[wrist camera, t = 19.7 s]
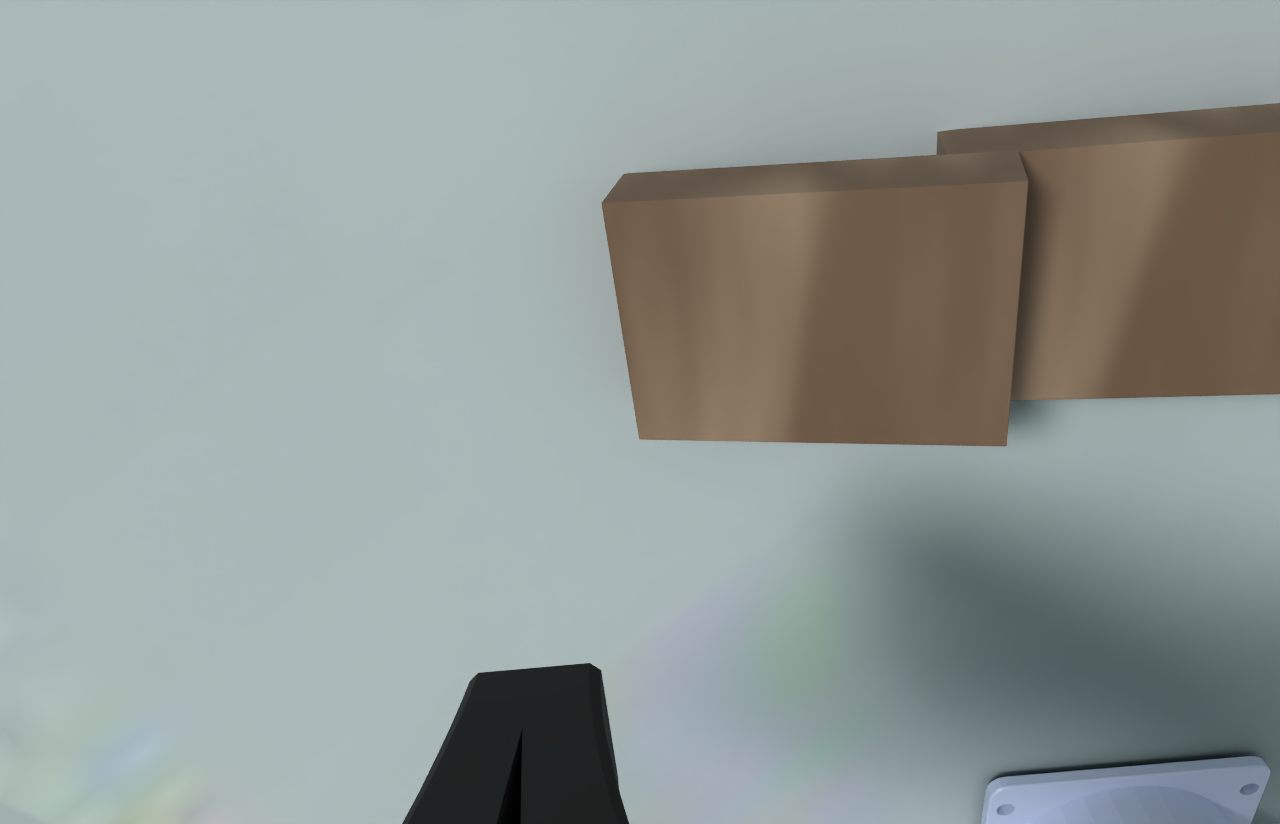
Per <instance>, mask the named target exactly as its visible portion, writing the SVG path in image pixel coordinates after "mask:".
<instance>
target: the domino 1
mask: <svg viewBox="0 0 1280 824" xmlns="http://www.w3.org/2000/svg"><path fill="white" fill-rule="evenodd" d="M1027 192H1028V179H1027V175H1026V172H1025V169H1024V166H1023V163H1022V160H1021V157H1020V154H1019V151H1018V150H1014V151H997V152H981V153H964V154H947V155H930V156H913V157H897V158H880V159H863V160H846V161H830V162H813V163H796V164H779V165H763V166H746V167H729V168H712V169H695V170H679V171H662V172H645V173H628V174H623V176H622V177H621V178H620V180H619V181H618V182H617V183H616V185H615V186H614V187H613V189H612V190H611V191H610V193H609V194H608V195H607V197H606V198H605V199H604V201H603V202H602V209H603V215H604V221H605V228H606V234H607V240H608V246H609V253H610V259H611V265H612V271H613V278H614V284H615V290H616V296H617V303H618V309H619V315H620V321H621V328H622V334H623V340H624V346H625V353H626V359H627V365H628V372H629V378H630V384H631V390H632V397H633V403H634V409H635V415H636V422H637V428H638V434H639V439H648V440H700V441H752V442H805V443H857V444H909V445H962V446H1007V434H1008V422H1009V410H1010V397H1011V385H1012V373H1013V361H1014V349H1015V337H1016V325H1017V313H1018V301H1019V288H1020V276H1021V264H1022V252H1023V240H1024V228H1025V216H1026V204H1027Z"/></svg>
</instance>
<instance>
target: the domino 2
mask: <svg viewBox="0 0 1280 824" xmlns="http://www.w3.org/2000/svg"><path fill="white" fill-rule="evenodd" d="M1014 150H1018V151H1019V154H1020V157H1021V160H1022V163H1023V166H1024V169H1025V172H1026V175H1027V179H1028V192H1027V204H1026V216H1025V228H1024V240H1023V252H1022V264H1021V276H1020V288H1019V301H1018V313H1017V325H1016V337H1015V349H1014V361H1013V373H1012V385H1011V397H1010V401H1014V400H1054V399H1095V398H1136V397H1177V396H1218V395H1258V394H1280V103H1278V104H1266V105H1253V106H1241V107H1229V108H1216V109H1204V110H1192V111H1179V112H1167V113H1155V114H1142V115H1130V116H1118V117H1105V118H1093V119H1081V120H1068V121H1056V122H1044V123H1031V124H1019V125H1007V126H995V127H982V128H970V129H958V130H948V131H941V132H938V135H937V155H947V154H964V153H981V152H997V151H1014Z"/></svg>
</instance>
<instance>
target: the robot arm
mask: <svg viewBox="0 0 1280 824" xmlns="http://www.w3.org/2000/svg"><path fill="white" fill-rule="evenodd" d="M1270 773H1271V771H1270V769H1269V768H1268V766H1267V765H1266V764H1265V762H1264V761H1263V759H1262V758H1259V757H1256V756H1244V757H1232V758H1220V759H1209V760H1197V761H1185V762H1173V763H1161V764H1149V765H1137V766H1126V767H1114V768H1102V769H1090V770H1078V771H1066V772H1054V773H1043V774H1031V775H1019V776H1007V777H1001V778H997V779H995V780H993V781H992V782H991V783H990V784H989V785H988V786H987V789H986V793H985V799H984V806H983V812H982V818H981V824H1251V822H1252V820H1253V817H1254V815H1255V812H1256V810H1257V807H1258V805H1259V802H1260V800H1261V797H1262V795H1263V792H1264V790H1265V787H1266V785H1267V782H1268V780H1269V777H1270ZM402 824H629V822H628V819H627V815H626V812H625V809H624V806H623V803H622V799H621V796H620V792H619V786H618V775H617V769H616V763H615V756H614V750H613V743H612V737H611V731H610V724H609V718H608V712H607V705H606V699H605V693H604V686H603V680H602V674H601V670H600V669H598V668H597V667H595V666H593V665H592V664H590V663H586V664H575V665H563V666H552V667H541V668H529V669H518V670H506V671H495V672H484V673H478V674H477V675H476V676H475V677H474V678H473V679H472V680H471V681H470V682H469V685H468V687H467V690H466V692H465V695H464V697H463V700H462V702H461V704H460V707H459V709H458V711H457V714H456V716H455V718H454V720H453V723H452V725H451V727H450V729H449V732H448V734H447V736H446V738H445V740H444V742H443V744H442V747H441V749H440V751H439V753H438V755H437V757H436V759H435V761H434V763H433V765H432V767H431V769H430V771H429V773H428V775H427V777H426V779H425V781H424V783H423V786H422V788H421V790H420V792H419V793H418V795H417V797H416V799H415V801H414V803H413V805H412V807H411V808H410V810H409V812H408V814H407V816H406V818H405V820H404V822H403V823H402Z"/></svg>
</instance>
